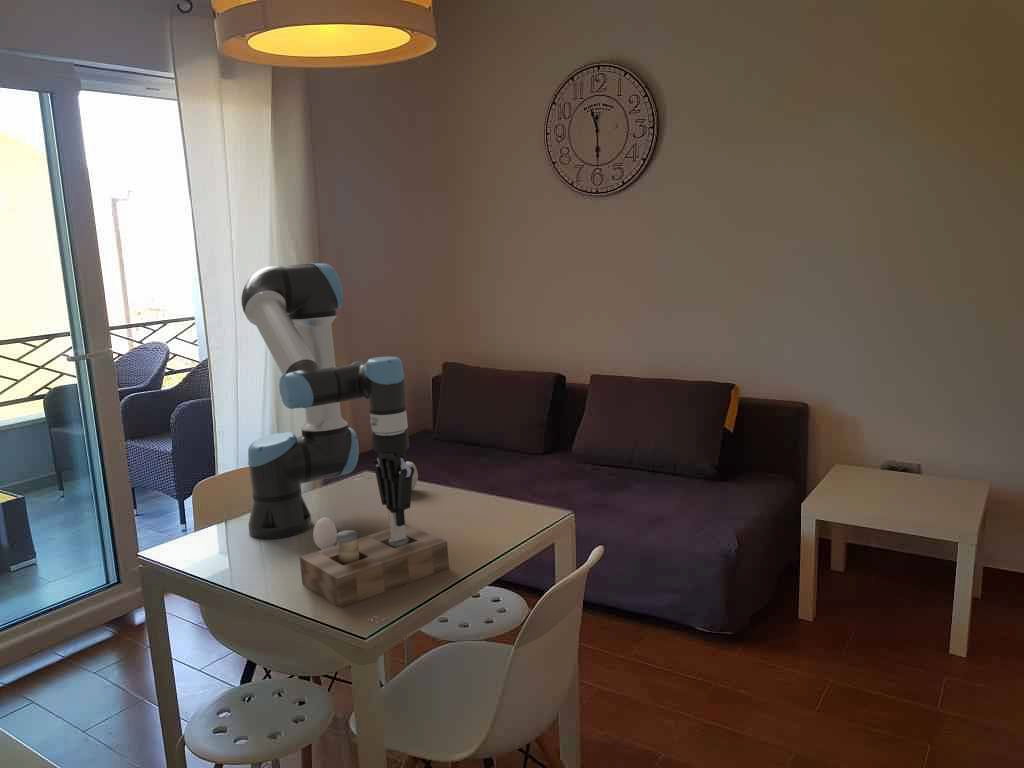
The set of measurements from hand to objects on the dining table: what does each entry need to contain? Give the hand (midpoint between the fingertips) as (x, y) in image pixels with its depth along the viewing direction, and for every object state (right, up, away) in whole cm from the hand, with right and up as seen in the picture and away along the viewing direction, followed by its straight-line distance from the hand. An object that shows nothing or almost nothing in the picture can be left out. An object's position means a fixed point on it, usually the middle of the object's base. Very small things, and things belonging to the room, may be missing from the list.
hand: (398, 538), depth 175 cm
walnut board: (-4, -7, -3) cm, 9 cm away
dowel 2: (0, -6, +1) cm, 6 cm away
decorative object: (-6, +3, +54) cm, 55 cm away
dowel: (-9, -3, -7) cm, 12 cm away
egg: (-19, -5, +14) cm, 24 cm away
